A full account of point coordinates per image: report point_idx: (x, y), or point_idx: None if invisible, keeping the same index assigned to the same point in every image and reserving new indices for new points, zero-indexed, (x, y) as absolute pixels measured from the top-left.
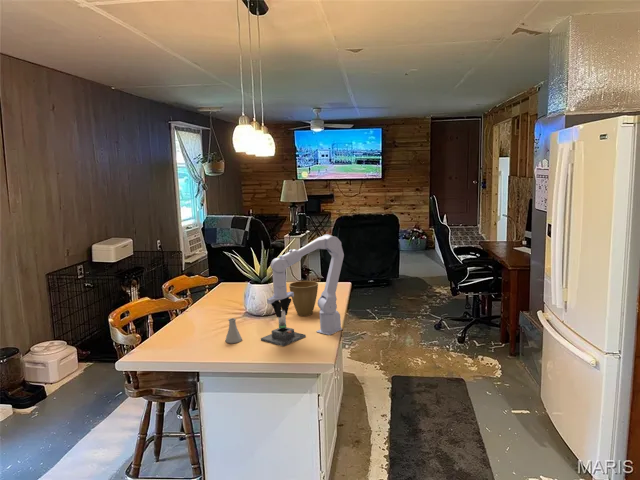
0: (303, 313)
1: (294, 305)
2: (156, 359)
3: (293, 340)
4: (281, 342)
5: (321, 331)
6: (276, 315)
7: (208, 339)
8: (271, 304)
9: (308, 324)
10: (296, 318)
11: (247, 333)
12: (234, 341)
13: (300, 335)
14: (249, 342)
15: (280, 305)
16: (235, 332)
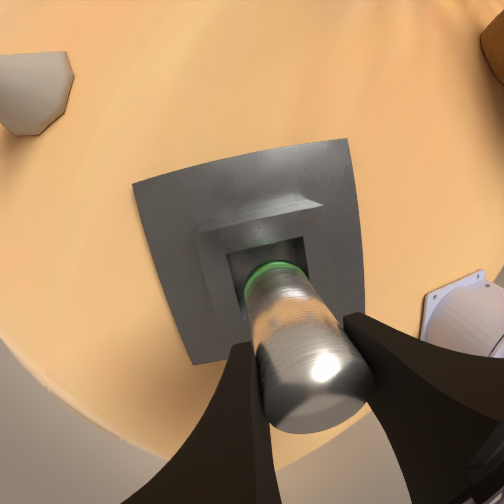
0: (498, 69)
1: (501, 22)
2: None
3: None
4: (198, 341)
5: (430, 318)
6: (230, 357)
7: (7, 27)
8: (139, 501)
9: (469, 166)
10: (467, 56)
11: (152, 16)
12: (20, 132)
13: (342, 316)
14: (75, 170)
15: None
16: (3, 112)
